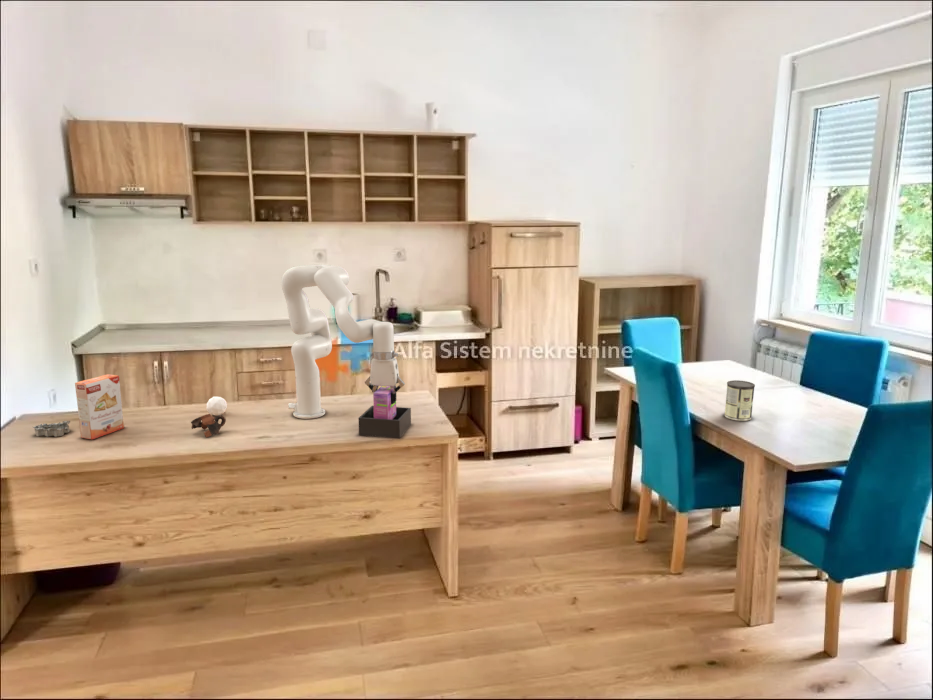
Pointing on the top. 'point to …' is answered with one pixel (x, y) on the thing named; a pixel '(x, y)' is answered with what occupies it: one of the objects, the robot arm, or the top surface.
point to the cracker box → (99, 406)
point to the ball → (216, 406)
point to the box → (383, 403)
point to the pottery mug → (209, 424)
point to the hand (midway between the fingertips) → (385, 402)
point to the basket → (385, 424)
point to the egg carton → (52, 429)
